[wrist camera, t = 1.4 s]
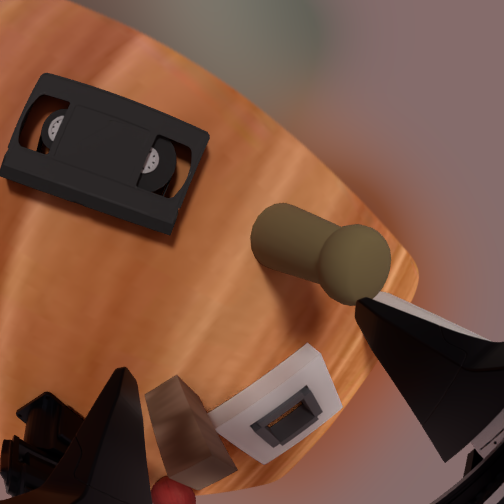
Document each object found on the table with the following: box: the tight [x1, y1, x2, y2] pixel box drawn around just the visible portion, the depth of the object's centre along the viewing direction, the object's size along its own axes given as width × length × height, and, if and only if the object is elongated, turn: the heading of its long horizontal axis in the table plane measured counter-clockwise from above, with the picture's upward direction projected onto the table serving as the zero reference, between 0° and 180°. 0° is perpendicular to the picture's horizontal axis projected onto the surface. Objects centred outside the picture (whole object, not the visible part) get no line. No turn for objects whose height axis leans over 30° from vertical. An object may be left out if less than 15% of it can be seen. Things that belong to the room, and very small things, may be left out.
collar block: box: [207, 343, 343, 465], centre depth 30 cm, size 14×14×3 cm
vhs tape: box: [0, 73, 210, 235], centre depth 16 cm, size 14×8×2 cm, turn 66°
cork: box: [251, 203, 391, 306], centre depth 20 cm, size 6×6×11 cm
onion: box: [151, 476, 196, 504], centre depth 23 cm, size 6×6×8 cm
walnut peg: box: [145, 375, 238, 490], centre depth 20 cm, size 4×4×10 cm
